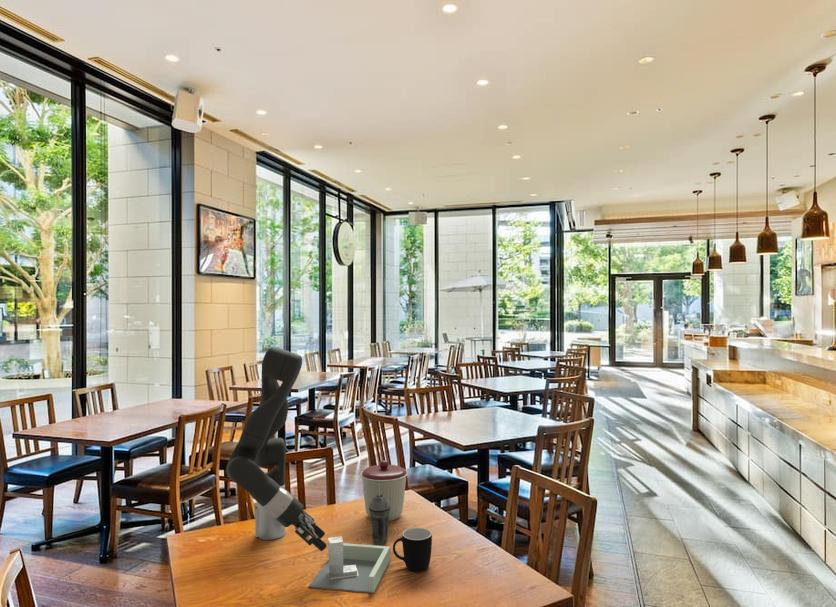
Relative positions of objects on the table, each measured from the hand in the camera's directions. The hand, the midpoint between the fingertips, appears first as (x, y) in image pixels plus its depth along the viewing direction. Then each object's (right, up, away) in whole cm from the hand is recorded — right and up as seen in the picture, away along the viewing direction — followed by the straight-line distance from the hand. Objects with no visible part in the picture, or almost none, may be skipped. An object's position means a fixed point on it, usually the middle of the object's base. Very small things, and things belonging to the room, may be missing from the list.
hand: (323, 541), depth 153 cm
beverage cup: (+15, -11, +23) cm, 29 cm away
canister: (+15, -11, +45) cm, 49 cm away
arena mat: (+8, -10, +2) cm, 13 cm away
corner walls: (+8, -10, +2) cm, 13 cm away
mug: (+26, -10, +5) cm, 28 cm away
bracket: (+5, -10, +1) cm, 11 cm away
